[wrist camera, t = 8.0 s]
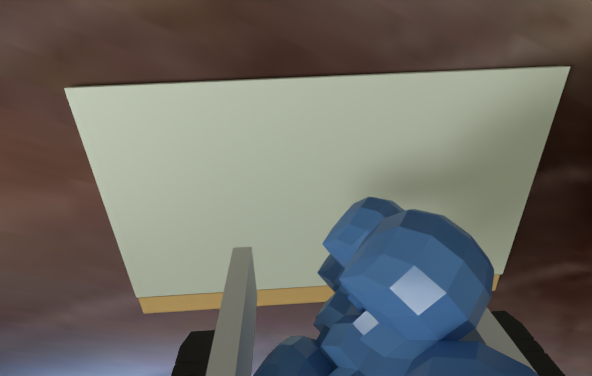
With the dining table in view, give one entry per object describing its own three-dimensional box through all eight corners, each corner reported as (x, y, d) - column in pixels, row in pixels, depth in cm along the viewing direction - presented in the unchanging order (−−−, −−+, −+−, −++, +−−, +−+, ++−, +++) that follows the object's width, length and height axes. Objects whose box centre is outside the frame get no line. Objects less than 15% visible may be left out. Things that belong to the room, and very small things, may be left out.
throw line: (145, 310, 23) (143, 313, 23) (140, 295, 22) (138, 298, 22) (492, 287, 24) (495, 290, 24) (497, 272, 23) (500, 274, 23)
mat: (139, 292, 22) (136, 297, 22) (70, 86, 16) (64, 88, 16) (498, 269, 23) (502, 274, 23) (562, 65, 17) (570, 66, 17)
